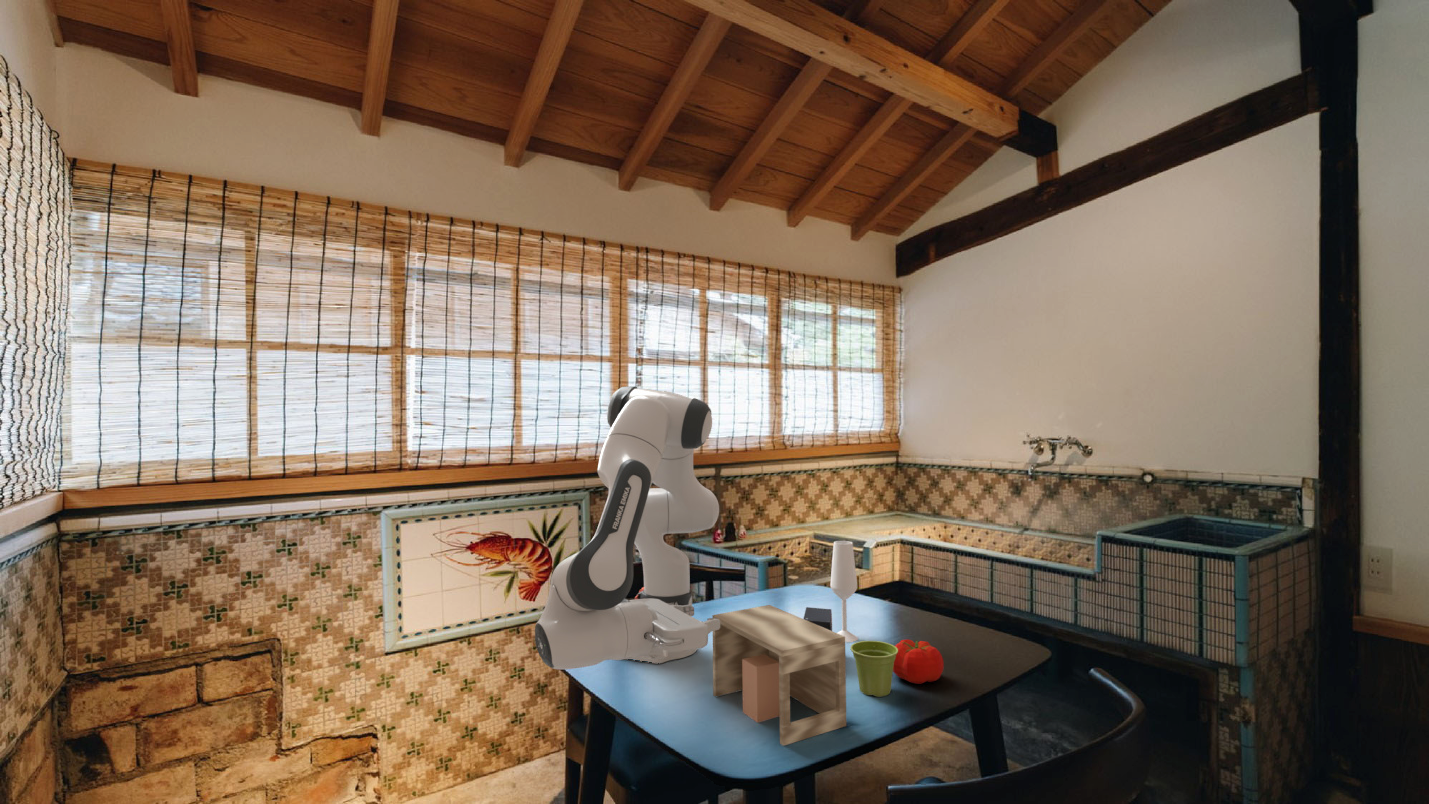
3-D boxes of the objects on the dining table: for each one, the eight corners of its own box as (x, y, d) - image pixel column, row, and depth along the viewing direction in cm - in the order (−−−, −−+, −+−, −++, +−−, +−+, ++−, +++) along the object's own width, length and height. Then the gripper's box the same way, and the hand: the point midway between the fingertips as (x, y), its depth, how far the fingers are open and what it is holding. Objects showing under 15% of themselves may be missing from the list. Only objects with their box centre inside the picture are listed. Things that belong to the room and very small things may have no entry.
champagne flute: (857, 634, 169) (856, 540, 170) (858, 642, 162) (857, 545, 163) (831, 632, 170) (829, 539, 171) (831, 641, 164) (829, 544, 164)
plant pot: (870, 704, 128) (869, 659, 128) (842, 686, 136) (841, 644, 136) (908, 696, 131) (907, 652, 132) (879, 679, 140) (878, 638, 140)
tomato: (954, 685, 136) (953, 649, 137) (908, 692, 133) (907, 654, 133) (924, 667, 147) (923, 633, 147) (880, 672, 143) (879, 638, 144)
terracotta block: (757, 722, 120) (756, 667, 121) (742, 712, 125) (742, 659, 125) (779, 716, 123) (779, 662, 123) (764, 706, 127) (764, 654, 128)
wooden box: (783, 745, 112) (782, 650, 112) (713, 695, 133) (712, 615, 133) (846, 725, 119) (845, 636, 119) (770, 680, 140) (769, 604, 140)
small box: (831, 668, 146) (831, 621, 146) (802, 667, 147) (801, 619, 148) (833, 652, 156) (832, 607, 157) (805, 650, 158) (804, 606, 158)
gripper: (660, 626, 103) (735, 612, 110) (611, 597, 120) (679, 586, 127) (660, 667, 102) (735, 651, 109) (612, 631, 120) (679, 619, 127)
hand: (704, 616), depth 118 cm, fingers open, 8 cm apart
